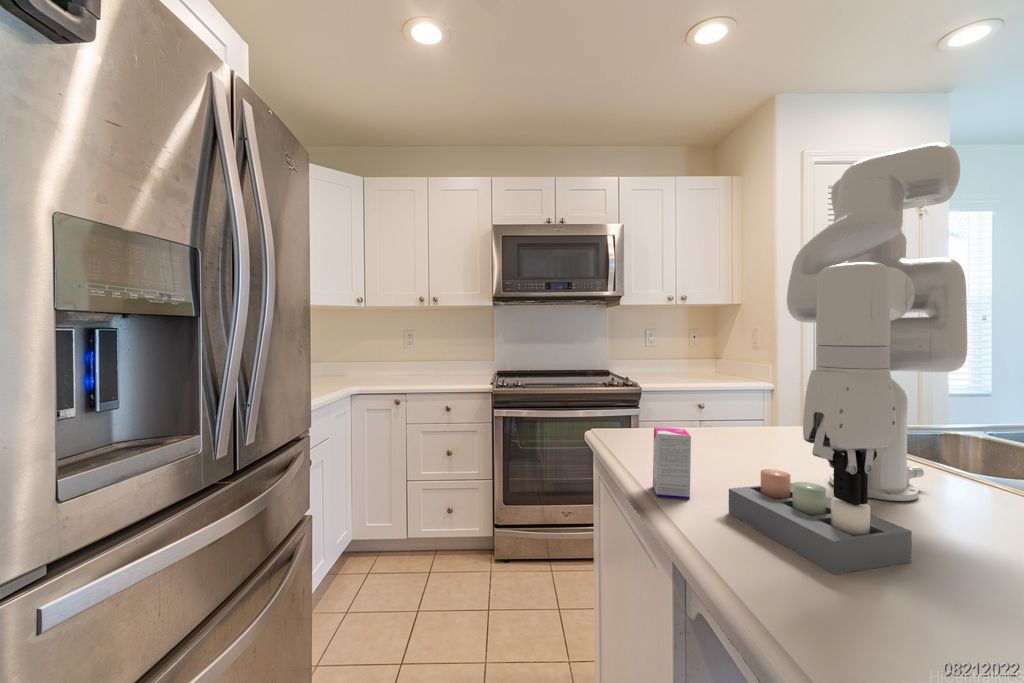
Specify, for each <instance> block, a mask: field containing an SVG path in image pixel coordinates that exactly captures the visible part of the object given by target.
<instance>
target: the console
mask: <svg viewBox="0 0 1024 683" xmlns="http://www.w3.org/2000/svg"><path fill="white" fill-rule="evenodd" d="M793 483H794V482H790V498H785V499H776V500H774V499H772V498H770V497H768V496H766V495H764V494H762V493H761V485H754V486H753V485H752V486H743V487H732V488H728V514H730V515H731V516H733V517H735V518H736V519H738V520H739V521H741V522H744V523H745V524H747V525H749V526H750V527H752V528H754V529H755V530H757V531H759V532H760V533H762V534H764V535H765V536H768V537H769V538H771V539H773V540H774V541H776V542H777V541H778V543H779V544H781V545H783V546H784V545H785V547H786V546H787V548H788V549H789V550H792V551H793V552H794V553H797V554H799V555H800V556H801V557H804V558H805V559H807V560H808V561H810V562H812V563H814V564H816V565H817V566H818V567H820V568H822V569H824V570H826V571H827V572H829V573H831V574H832V575H839V574H845V573H851V572H852V573H853V572H858V571H865V570H870V569H875V568H885V567H890V566H895V565H903V564H909V563H912V533H913V531H912V530H910V529H908V528H905V527H903V526H900V525H898V524H895V523H893V522H890V521H887V520H885V519H883V518H880V517H877V516H876V515H872V514H870V534H869V535H861V536H851V535H849V534H847V533H845V532H843V531H841V530H839V529H836V528H834V527H832V526H831V498H830V497H828V496H826V514H825V515H816V516H809V515H806V514H804V513H802V512H800V511H798V510H796V509H794V508H792V496H793Z"/></svg>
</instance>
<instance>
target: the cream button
mask: <svg viewBox="0 0 1024 683" xmlns="http://www.w3.org/2000/svg"><path fill="white" fill-rule="evenodd" d="M870 515H871V505H870V503H869V504H868V503H867V504H863V505H862V504H860V505H853V504H850V503H848V502H845V501H842V500H840V499H837V498H835V497H834V496H833V497H832V498H831V526H832V527H834V528H836V529H839V530H841V531H843V532H845V533H847V534H849V535H851V536H861V535H869V534H870Z"/></svg>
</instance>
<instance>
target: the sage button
mask: <svg viewBox="0 0 1024 683" xmlns="http://www.w3.org/2000/svg"><path fill="white" fill-rule="evenodd" d="M792 483H793V496H792V508H794V509H796V510H798V511H800V512H802V513H804V514H806V515H809V516H816V515H825V514H826V497H827V488H826V487H825V486H823V485H820V484H818V483H814V482H808V481H795V482H792Z"/></svg>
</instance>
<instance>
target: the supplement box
mask: <svg viewBox="0 0 1024 683" xmlns="http://www.w3.org/2000/svg"><path fill="white" fill-rule="evenodd" d="M691 438H692V436H691V434H690V433H689V432H688V431H687V430H686V429H684V428H672V427H671V428H670V427H669V428H668V427H654V428H653V456H652V457H653V459H652V460H653V463H652V464H653V465H652V489H653V492H654V495H655V496H656V498H660V499H672V500H673V499H674V500H691V499H690V498H691V459H692V456H691V454H692V451H691V450H692V449H691V448H692V446H691V445H692V444H691V443H692V439H691Z"/></svg>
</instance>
